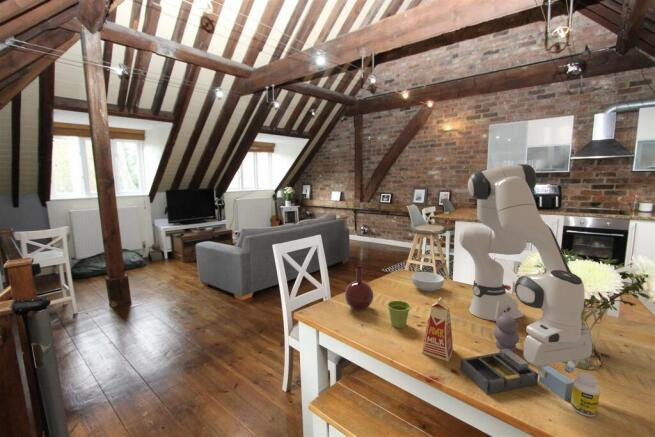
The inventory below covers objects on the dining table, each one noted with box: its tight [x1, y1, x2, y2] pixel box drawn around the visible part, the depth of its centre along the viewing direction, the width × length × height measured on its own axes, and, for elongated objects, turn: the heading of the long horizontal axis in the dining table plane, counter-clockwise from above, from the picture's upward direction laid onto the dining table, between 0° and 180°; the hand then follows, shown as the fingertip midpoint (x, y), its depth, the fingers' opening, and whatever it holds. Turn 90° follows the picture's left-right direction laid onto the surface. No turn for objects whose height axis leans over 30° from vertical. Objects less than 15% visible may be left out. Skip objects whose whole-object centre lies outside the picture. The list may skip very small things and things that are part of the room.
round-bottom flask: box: [344, 266, 374, 311], centre depth 144 cm, size 13×13×20 cm
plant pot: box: [387, 300, 412, 329], centre depth 129 cm, size 9×9×9 cm
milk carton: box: [421, 296, 454, 362], centre depth 109 cm, size 9×9×20 cm
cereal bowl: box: [411, 271, 445, 292], centre depth 168 cm, size 17×17×7 cm
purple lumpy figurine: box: [493, 312, 520, 353], centre depth 111 cm, size 8×8×12 cm
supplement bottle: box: [570, 371, 601, 418], centre depth 82 cm, size 5×5×10 cm
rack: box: [459, 349, 539, 395], centre depth 96 cm, size 12×18×6 cm
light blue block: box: [538, 364, 574, 401], centre depth 90 cm, size 3×8×5 cm, turn 13°
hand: (555, 373), depth 89 cm, fingers open, 8 cm apart
